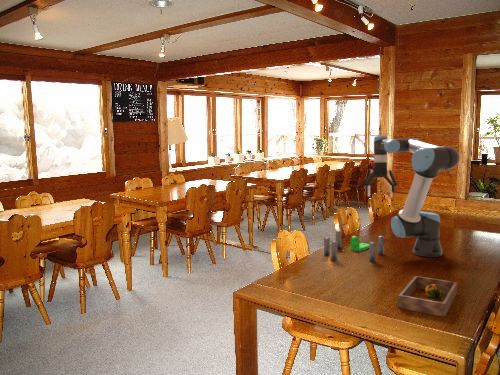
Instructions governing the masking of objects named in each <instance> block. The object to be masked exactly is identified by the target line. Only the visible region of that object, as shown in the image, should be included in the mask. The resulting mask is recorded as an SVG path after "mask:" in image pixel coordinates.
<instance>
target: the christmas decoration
mask: <svg viewBox="0 0 500 375" xmlns="http://www.w3.org/2000/svg"><path fill="white" fill-rule="evenodd" d="M426 282H427V281H426ZM427 284H428V282H427ZM438 286H439V285H437V283H436V285H435V284H428V286H427V287H426V289H424V290H425V291H424V293H425V295H426V296H425V299H427V300H431V301H437V302H442V303H443V301H444V300H445V298H446V296H447V293H445V292H443V291H444V290H442V289H441V288H442V287H441V288H440V287H438ZM440 289H441V290H440ZM446 292H447V291H446Z"/></svg>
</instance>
